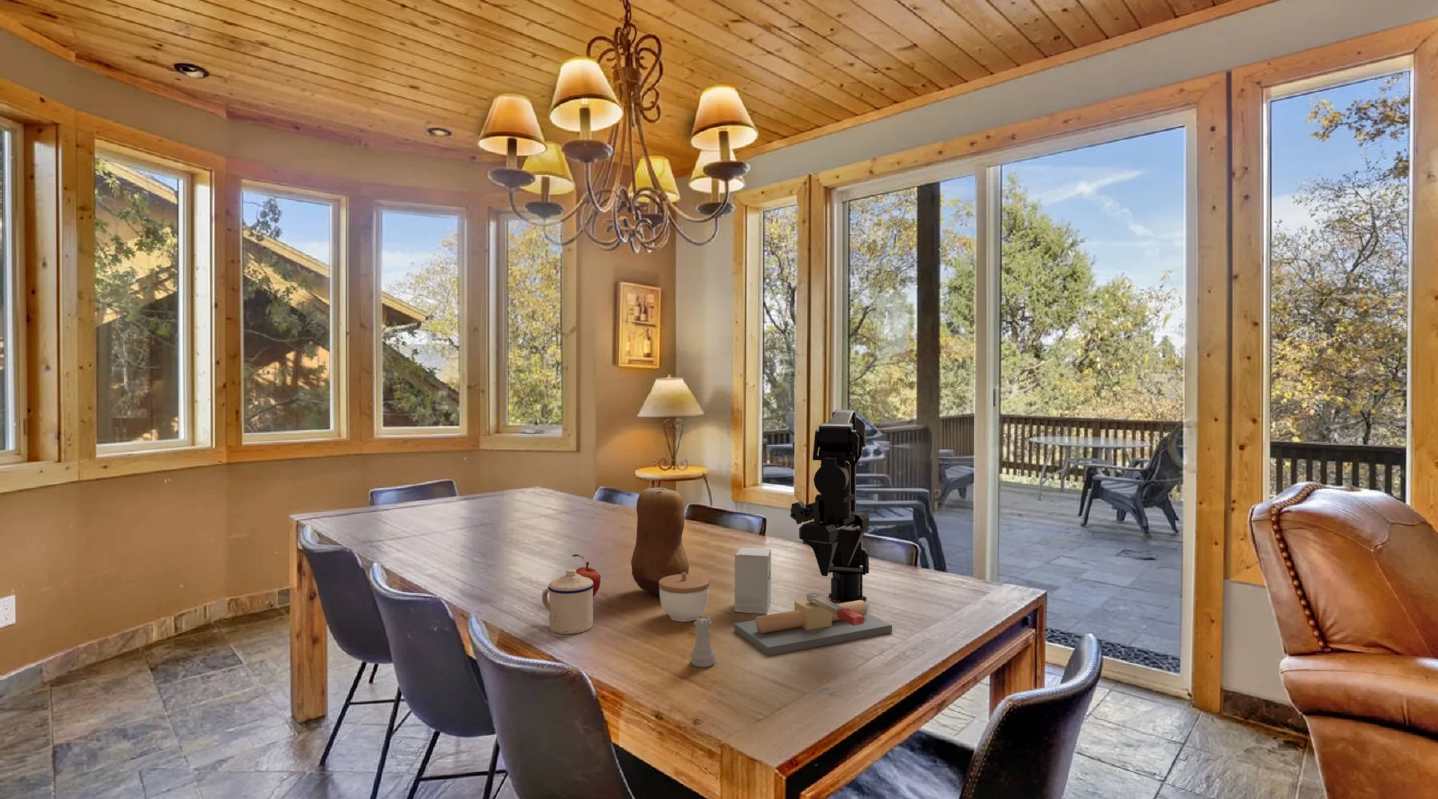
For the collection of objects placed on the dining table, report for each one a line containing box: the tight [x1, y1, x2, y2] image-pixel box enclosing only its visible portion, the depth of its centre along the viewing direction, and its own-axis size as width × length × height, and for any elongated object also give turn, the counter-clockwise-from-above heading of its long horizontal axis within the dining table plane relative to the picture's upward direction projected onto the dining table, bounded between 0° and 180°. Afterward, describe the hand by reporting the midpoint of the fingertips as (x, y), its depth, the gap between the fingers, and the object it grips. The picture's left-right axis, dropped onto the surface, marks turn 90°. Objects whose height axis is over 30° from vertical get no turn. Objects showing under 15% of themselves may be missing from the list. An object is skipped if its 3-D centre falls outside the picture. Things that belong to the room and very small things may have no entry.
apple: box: [571, 553, 602, 598], centre depth 157 cm, size 8×7×10 cm
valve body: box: [733, 599, 893, 657], centre depth 135 cm, size 28×14×6 cm, turn 115°
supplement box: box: [734, 547, 772, 615], centre depth 149 cm, size 7×7×13 cm
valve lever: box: [806, 592, 864, 626], centre depth 128 cm, size 16×2×1 cm, turn 25°
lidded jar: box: [659, 573, 710, 623], centre depth 144 cm, size 11×11×9 cm
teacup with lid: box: [541, 568, 594, 635], centre depth 138 cm, size 12×9×12 cm
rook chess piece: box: [690, 615, 716, 668], centre depth 119 cm, size 4×4×8 cm
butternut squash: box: [630, 487, 690, 597], centre depth 160 cm, size 14×13×25 cm
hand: (835, 570), depth 130 cm, fingers open, 9 cm apart
